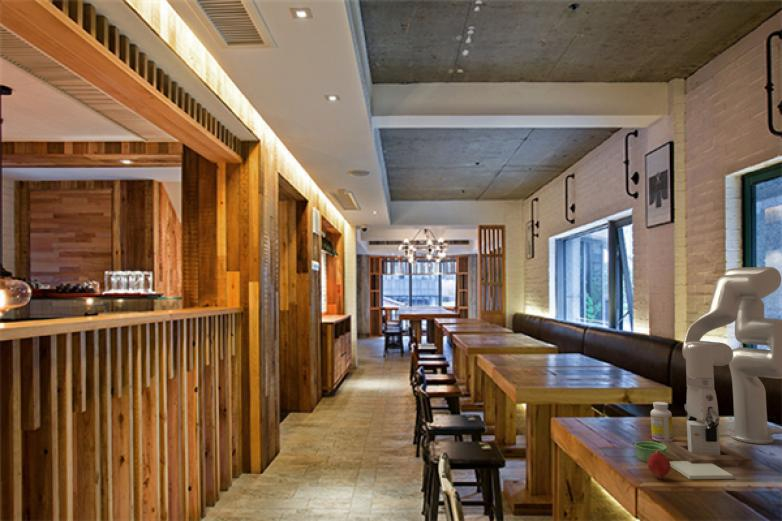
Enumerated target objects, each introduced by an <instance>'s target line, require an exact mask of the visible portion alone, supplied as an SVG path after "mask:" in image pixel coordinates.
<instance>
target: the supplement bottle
mask: <svg viewBox="0 0 782 521" xmlns="http://www.w3.org/2000/svg"><path fill="white" fill-rule="evenodd" d="M652 405H653V409H652V410H651V411H650V427H651V429H650V430H651V438H652V440H653V441H654V442H657V443H661V442H674V441H673V440H674V432H673V431H674V430H673V416H672V414H673V413H672V412H671V411H670V410H669V409H668V408H669V404H668V403H667V402H665V401H654V402H652Z"/></svg>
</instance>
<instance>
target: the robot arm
mask: <svg viewBox="0 0 782 521" xmlns="http://www.w3.org/2000/svg"><path fill="white" fill-rule="evenodd" d="M781 282H782V276H781V273H780V271H779V270H778V269H777V268H775V267H773V266H759V267H758V266H754V267H747V266H746V267H734V268H729V269H726V270H725V271H724V272H723V275H722V276H720V277H718V278H717V279H716V282H715V283H714V287H713V291H712V295H711V298H710V300H709V305H708V307H707V308H708V309H707V311H706V313H704V314H702V315H701V316H699V317H698V318H697V319H695V321H694V322H692V324H691V325H690V326H689V327H688V329H687V330H686V332H685V336H684V339H683V343H682V349H681V351H682V356H683V359H684V360H685V369H686V370H685V371H686V377H685V378H686V403H684V410H685V415H686V421H704V423H705V425H706V427H707V428H705V439H706V441H707V442H717V429H718V427H719V425H720V424H719V423H720V418H721V417H720V415H719V406H718V399H717V393H716V390H715V375H714V370H715V369H714V366H718V367H720V366H721V367H723V366H727V365H728V368H729V370H730V376H731V382H732V383H731V384H732V398H733V401H732V402H733V416H734V419H733V420H734V430H733V431H730V432H729V436H730V438H731V439H733V440H736V441H740V442H745V443H749V444H757V445H760V444H761V445H762V444H763V445H765V444H771V443H773V442H775V439H774V437H773V435H782V428H781V427H780V428H779V427H778V428H773V427H770V426H768V412H767V394H766V393H767V392H766V389H765V386H764V384H763V382H762V381H761V380H760V378H759V377H761V378H769V379H782V319H780V318H774V317H773V318H772V317H765V303H764V302H763V300H762V299H764V298H766V297H768V296H770V295H772V294H773V293H775V292H777V290H778V289H779V287H780V286H781ZM732 323H734V337H735V339H736V340H737V341H738V342H739V343H742V344H745V345H754V346H755V345H756V346H767V347H769V349H765V348H763V349H762V348H756V347H755V348H754V347H736V348H733V349H732V348H731V346H730V345H728V344H726V343H724V342H720V341H718V342H717V341H709V340H701V339H702V338H703V336H705V335H706V334H708V333H710V332H712V331H713V330H717V329H719V328H723V327H725V326H727V325H731V324H732ZM709 422H711V423H710V424H709Z"/></svg>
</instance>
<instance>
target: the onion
mask: <svg viewBox="0 0 782 521" xmlns="http://www.w3.org/2000/svg"><path fill="white" fill-rule="evenodd" d="M669 461H670V460H669V459H668V458H667V455H666V456H665V455H663V454H662V453H661V452H660V450H657V451H656V452H655V453H653V454H652V455H651V456H650V457H649V459H648V461H647V462H646V465H647V467H648V470H649V471H650V472H651V474H653V475H654V476H655V477H656V478H658V479H663V478H664V477H665V476H666V475H668V474H669V473H670V471H671V469H672V467H671V465H670V462H669Z"/></svg>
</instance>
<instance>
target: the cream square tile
mask: <svg viewBox="0 0 782 521" xmlns="http://www.w3.org/2000/svg"><path fill="white" fill-rule="evenodd" d="M669 462H670V465H671V469H673V470H676V472H678V473H679V474H681V475H683V476H684V477H685V478H688V479H689V480H731V479H732V480H733V479H734V475H733V474H731V473H730V472H728V471H726V470H724V469H722V468H721V467H720V466H716V465H714V464H712V463H690V462H688V461H681V460H677V461H676V460H672V461H671V460H669Z"/></svg>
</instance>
